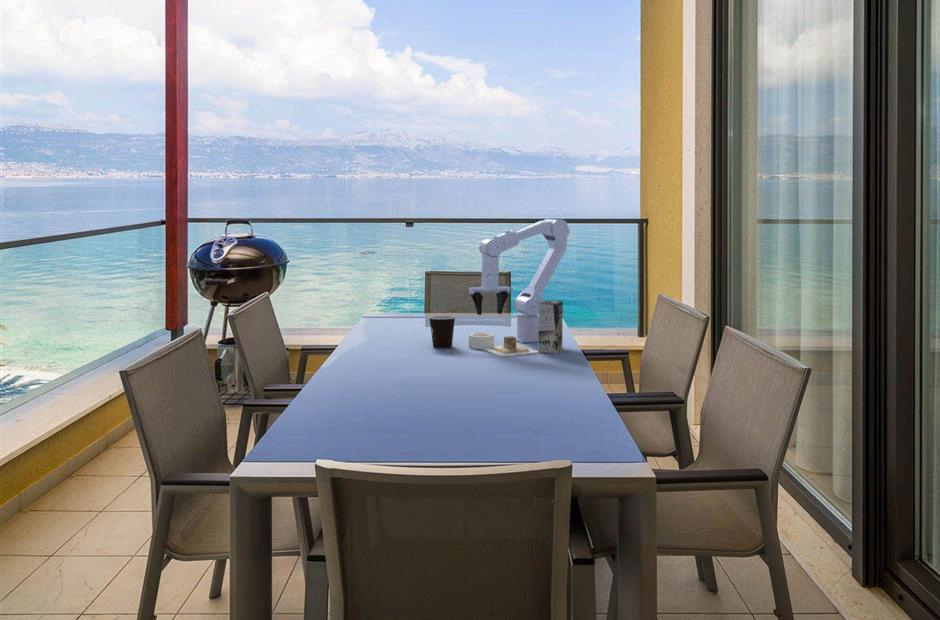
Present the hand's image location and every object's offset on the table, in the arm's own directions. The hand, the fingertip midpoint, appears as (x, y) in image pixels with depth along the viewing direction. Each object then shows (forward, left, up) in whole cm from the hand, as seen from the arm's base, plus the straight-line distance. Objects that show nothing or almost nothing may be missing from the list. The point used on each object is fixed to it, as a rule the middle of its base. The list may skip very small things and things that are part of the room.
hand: (489, 314), depth 291 cm
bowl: (+4, +3, -10) cm, 12 cm away
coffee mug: (+15, -4, -11) cm, 19 cm away
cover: (-1, +15, -10) cm, 18 cm away
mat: (-1, +15, -10) cm, 18 cm away
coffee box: (-13, +19, -11) cm, 26 cm away
